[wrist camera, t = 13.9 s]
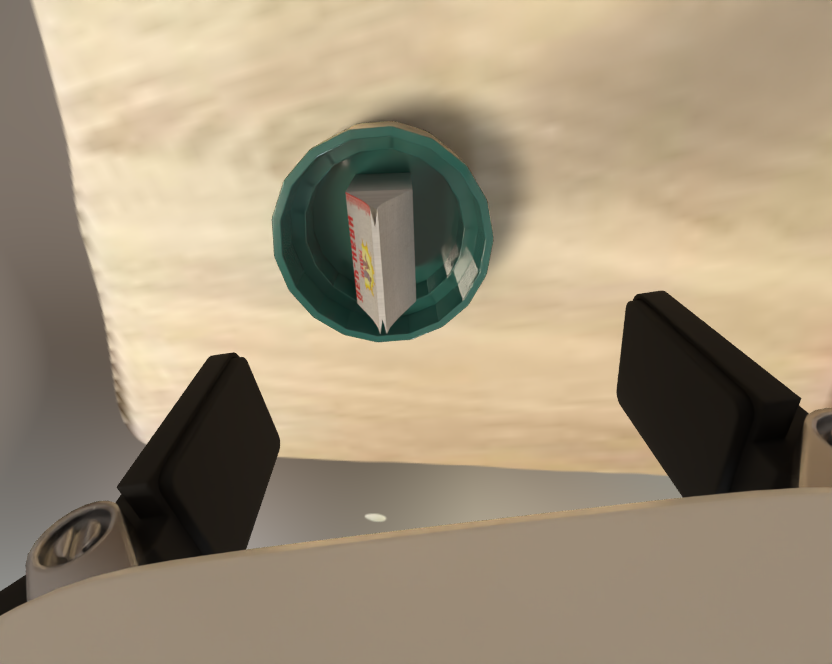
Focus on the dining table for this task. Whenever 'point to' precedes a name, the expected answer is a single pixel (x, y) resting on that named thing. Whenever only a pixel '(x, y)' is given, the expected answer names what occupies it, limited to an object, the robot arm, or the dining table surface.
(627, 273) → the dining table surface
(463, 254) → the teal faceted bowl
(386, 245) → the white juice carton
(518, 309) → the dining table surface
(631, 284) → the dining table surface
